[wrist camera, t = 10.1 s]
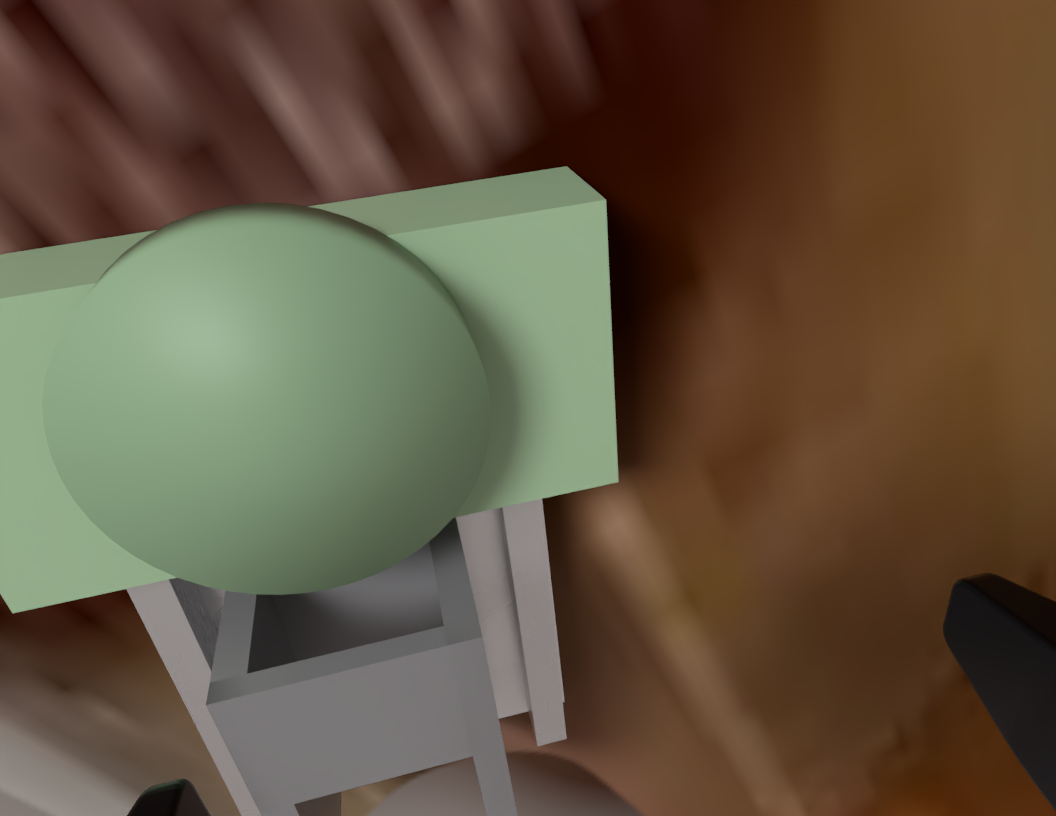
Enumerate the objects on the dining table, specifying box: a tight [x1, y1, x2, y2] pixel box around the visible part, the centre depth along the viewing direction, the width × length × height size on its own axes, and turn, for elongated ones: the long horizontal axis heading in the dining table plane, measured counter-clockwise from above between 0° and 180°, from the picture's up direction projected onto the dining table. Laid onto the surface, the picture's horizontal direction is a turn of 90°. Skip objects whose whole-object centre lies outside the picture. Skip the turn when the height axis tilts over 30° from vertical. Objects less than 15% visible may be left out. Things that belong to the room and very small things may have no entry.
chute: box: [206, 517, 518, 816], centre depth 21 cm, size 6×9×5 cm, turn 7°
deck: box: [0, 166, 619, 816], centre depth 19 cm, size 14×19×4 cm
